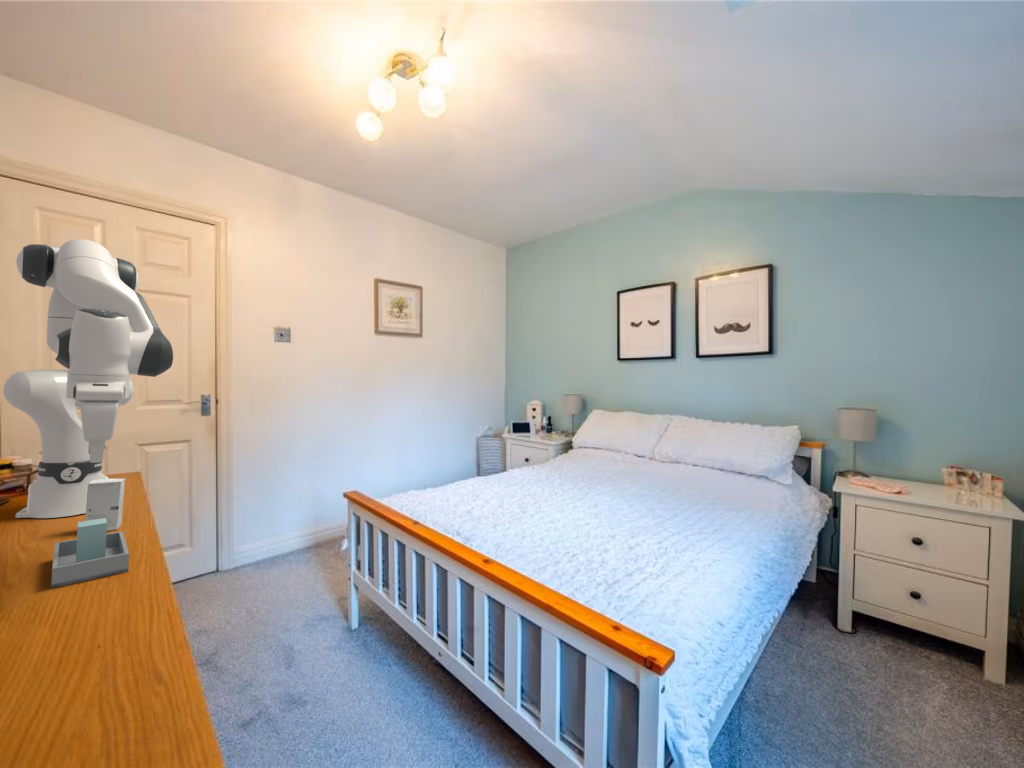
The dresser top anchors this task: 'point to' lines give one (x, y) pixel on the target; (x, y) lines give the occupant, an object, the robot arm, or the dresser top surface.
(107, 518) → the skincare box
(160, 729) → the dresser top surface
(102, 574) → the grey tray
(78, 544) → the teal block
